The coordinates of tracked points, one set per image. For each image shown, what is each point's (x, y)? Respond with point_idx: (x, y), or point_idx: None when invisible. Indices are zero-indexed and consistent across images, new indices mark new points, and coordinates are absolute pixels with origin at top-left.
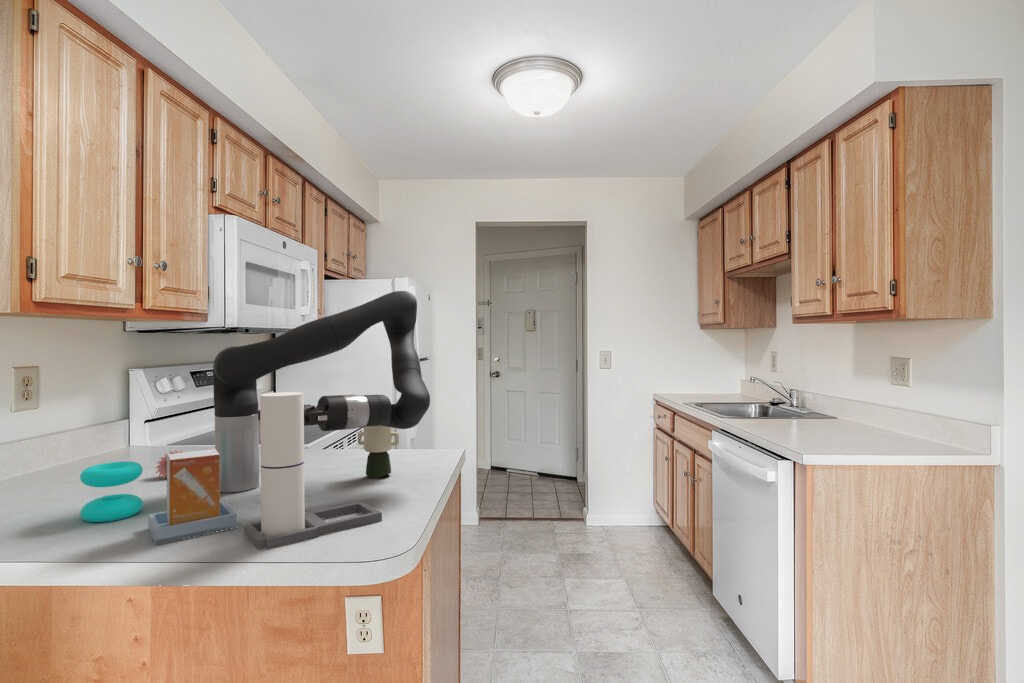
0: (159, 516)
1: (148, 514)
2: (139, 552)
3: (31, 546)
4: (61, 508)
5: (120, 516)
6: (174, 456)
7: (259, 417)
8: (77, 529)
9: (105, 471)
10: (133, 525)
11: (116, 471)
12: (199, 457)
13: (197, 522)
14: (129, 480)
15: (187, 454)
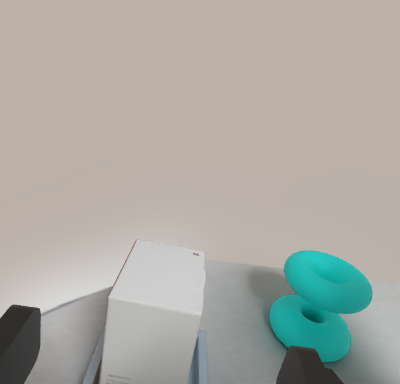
0: (197, 346)
1: (204, 331)
2: (92, 318)
3: (214, 269)
4: (367, 306)
5: (273, 330)
6: (162, 248)
7: (278, 375)
8: (255, 299)
9: (293, 259)
10: (234, 340)
11: (293, 267)
12: (121, 269)
13: (87, 370)
14: (300, 296)
15: (164, 262)
